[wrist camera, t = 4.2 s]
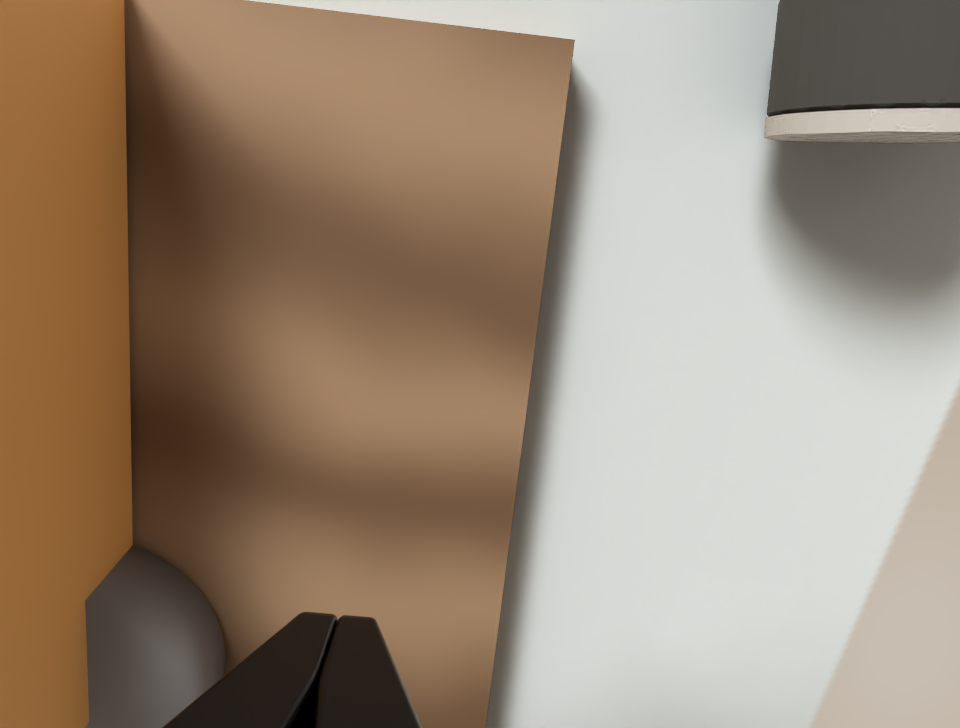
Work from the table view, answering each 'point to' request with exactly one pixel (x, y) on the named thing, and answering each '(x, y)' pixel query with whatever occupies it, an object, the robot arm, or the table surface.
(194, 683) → the orange and grey block
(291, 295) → the board
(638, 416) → the table surface
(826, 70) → the flashlight
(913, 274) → the table surface
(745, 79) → the table surface
